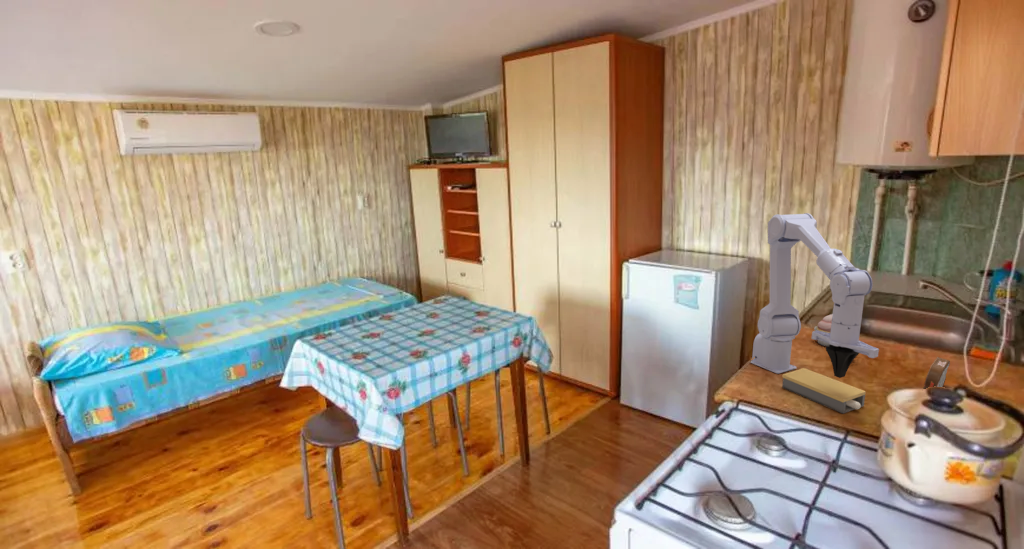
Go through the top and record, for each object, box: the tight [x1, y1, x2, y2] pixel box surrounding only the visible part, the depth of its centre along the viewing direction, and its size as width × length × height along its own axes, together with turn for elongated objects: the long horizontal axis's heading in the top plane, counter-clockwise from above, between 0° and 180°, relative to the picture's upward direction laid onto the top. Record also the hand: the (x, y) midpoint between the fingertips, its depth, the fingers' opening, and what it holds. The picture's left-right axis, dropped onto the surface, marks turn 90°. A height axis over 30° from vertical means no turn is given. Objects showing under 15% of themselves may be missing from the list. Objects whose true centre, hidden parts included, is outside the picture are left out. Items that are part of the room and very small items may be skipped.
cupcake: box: [813, 313, 833, 347], centre depth 164 cm, size 9×9×10 cm
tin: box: [922, 356, 951, 390], centre depth 131 cm, size 15×3×8 cm, turn 133°
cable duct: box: [781, 378, 866, 414], centre depth 131 cm, size 18×8×3 cm, turn 26°
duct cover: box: [782, 367, 867, 402], centre depth 130 cm, size 16×8×1 cm, turn 26°
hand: (839, 376), depth 124 cm, fingers closed
